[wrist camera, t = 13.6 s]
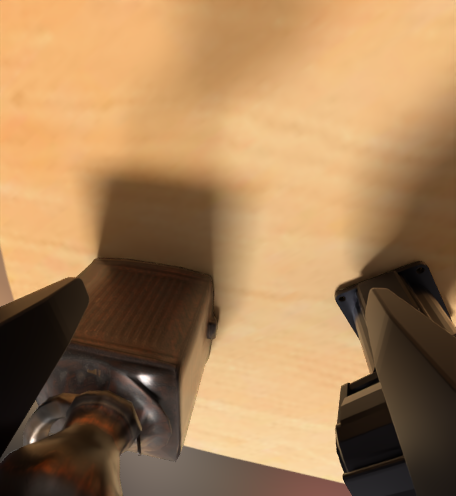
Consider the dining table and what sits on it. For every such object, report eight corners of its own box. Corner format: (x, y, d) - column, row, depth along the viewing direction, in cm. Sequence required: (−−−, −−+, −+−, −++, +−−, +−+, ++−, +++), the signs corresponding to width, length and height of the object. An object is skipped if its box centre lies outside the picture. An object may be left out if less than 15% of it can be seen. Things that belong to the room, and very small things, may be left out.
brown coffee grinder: (215, 360, 29) (140, 681, 13) (109, 340, 30) (-73, 617, 14) (226, 216, 21) (74, 594, 6) (82, 197, 22) (-380, 468, 7)
